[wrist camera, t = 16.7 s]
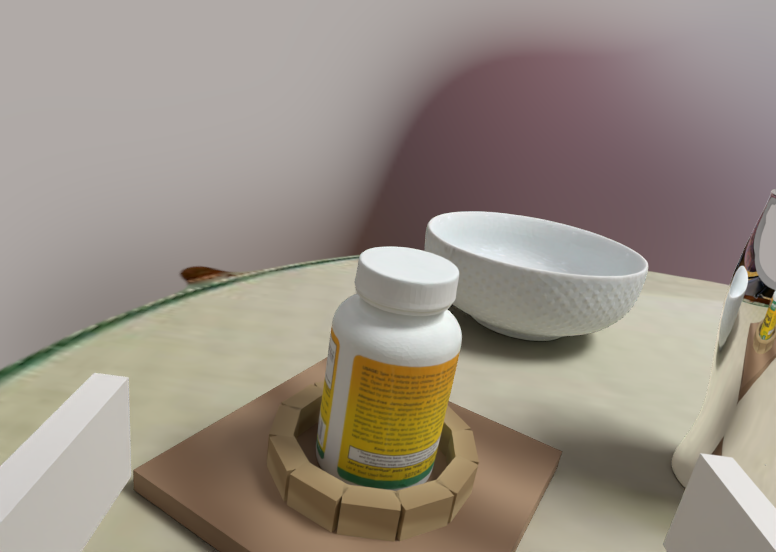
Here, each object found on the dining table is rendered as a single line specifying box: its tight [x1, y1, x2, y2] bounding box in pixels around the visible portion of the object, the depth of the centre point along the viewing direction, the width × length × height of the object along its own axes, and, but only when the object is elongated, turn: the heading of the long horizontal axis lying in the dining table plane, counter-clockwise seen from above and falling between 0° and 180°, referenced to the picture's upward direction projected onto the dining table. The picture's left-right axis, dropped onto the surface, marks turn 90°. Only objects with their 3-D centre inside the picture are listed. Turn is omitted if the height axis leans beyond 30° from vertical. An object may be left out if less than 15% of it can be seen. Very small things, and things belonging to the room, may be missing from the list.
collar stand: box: [133, 358, 562, 552], centre depth 25 cm, size 14×14×2 cm
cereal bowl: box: [425, 212, 648, 341], centre depth 45 cm, size 17×17×7 cm
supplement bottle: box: [316, 247, 462, 491], centre depth 24 cm, size 5×5×10 cm
